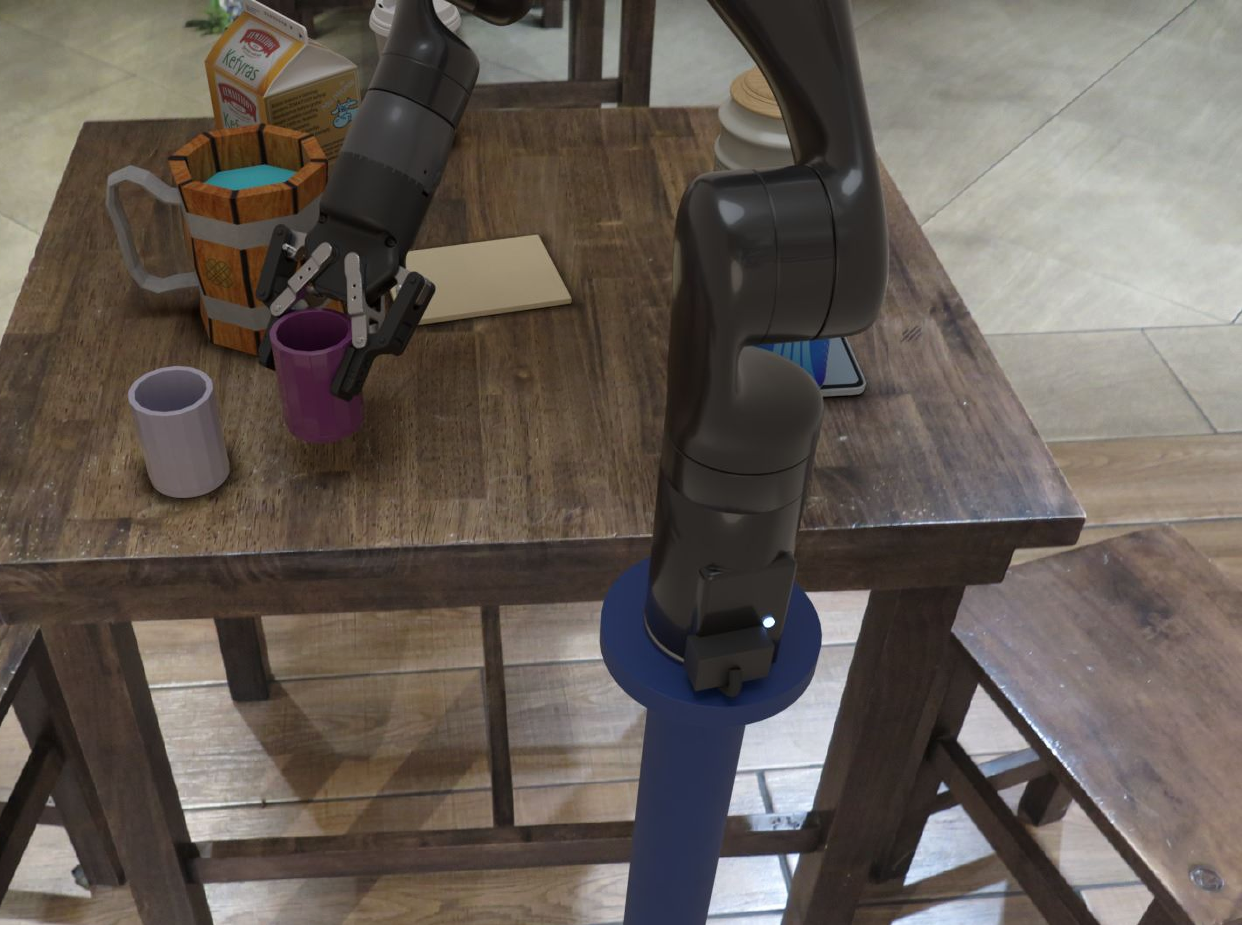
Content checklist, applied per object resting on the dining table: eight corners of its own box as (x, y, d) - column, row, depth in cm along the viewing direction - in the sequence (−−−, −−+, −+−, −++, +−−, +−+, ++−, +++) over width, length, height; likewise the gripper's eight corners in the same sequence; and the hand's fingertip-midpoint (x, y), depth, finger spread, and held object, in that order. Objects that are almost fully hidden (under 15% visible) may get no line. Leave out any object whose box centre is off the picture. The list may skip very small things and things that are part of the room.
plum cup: (370, 436, 97) (360, 347, 91) (289, 448, 96) (274, 360, 90) (357, 389, 101) (347, 302, 95) (280, 401, 100) (265, 314, 94)
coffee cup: (383, 121, 144) (373, -17, 134) (467, 122, 144) (463, -16, 133) (374, 160, 137) (362, 18, 127) (462, 161, 137) (457, 19, 127)
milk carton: (228, 197, 132) (195, 9, 118) (312, 166, 136) (290, -18, 123) (283, 236, 126) (255, 43, 112) (370, 202, 131) (352, 14, 117)
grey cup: (233, 491, 98) (215, 408, 93) (152, 504, 97) (129, 421, 92) (226, 442, 103) (209, 360, 97) (148, 454, 102) (126, 372, 96)
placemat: (571, 303, 117) (571, 298, 117) (401, 327, 114) (401, 322, 114) (538, 239, 125) (538, 234, 125) (379, 260, 123) (378, 255, 122)
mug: (355, 276, 121) (339, 124, 110) (335, 358, 111) (316, 200, 100) (151, 272, 121) (116, 120, 111) (114, 353, 112) (71, 196, 101)
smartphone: (783, 392, 106) (746, 292, 116) (781, 401, 107) (745, 301, 117) (869, 388, 107) (825, 288, 117) (867, 397, 107) (823, 297, 118)
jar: (825, 199, 131) (858, 26, 119) (844, 265, 122) (881, 85, 110) (700, 197, 131) (719, 24, 119) (709, 263, 122) (731, 82, 110)
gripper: (285, 126, 92) (201, 340, 94) (445, 176, 87) (354, 404, 88) (338, 167, 99) (259, 366, 100) (490, 215, 94) (405, 426, 95)
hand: (304, 382), depth 94 cm, fingers closed on plum cup, 6 cm apart
